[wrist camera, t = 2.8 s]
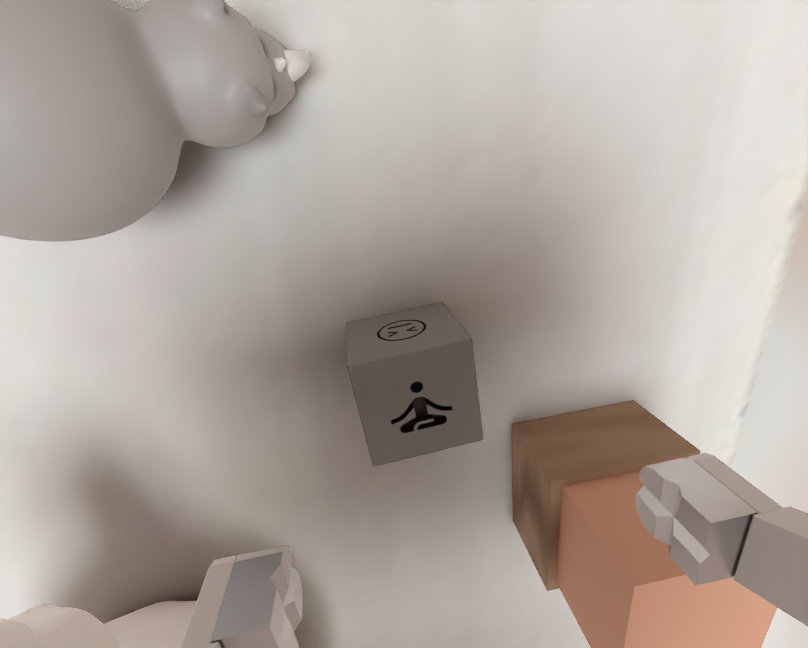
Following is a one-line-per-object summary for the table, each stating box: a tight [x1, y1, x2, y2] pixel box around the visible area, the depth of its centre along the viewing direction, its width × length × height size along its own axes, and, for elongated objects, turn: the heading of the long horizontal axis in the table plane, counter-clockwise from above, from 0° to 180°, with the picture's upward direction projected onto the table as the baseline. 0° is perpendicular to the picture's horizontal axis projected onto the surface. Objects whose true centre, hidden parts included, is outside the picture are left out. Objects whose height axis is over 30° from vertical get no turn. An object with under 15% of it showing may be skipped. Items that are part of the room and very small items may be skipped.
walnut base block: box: [512, 400, 700, 591], centre depth 23 cm, size 8×8×5 cm
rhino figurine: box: [0, 0, 311, 241], centre depth 12 cm, size 7×12×8 cm, turn 104°
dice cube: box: [347, 302, 483, 467], centre depth 18 cm, size 5×5×5 cm
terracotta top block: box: [556, 470, 777, 648], centre depth 18 cm, size 7×7×5 cm
